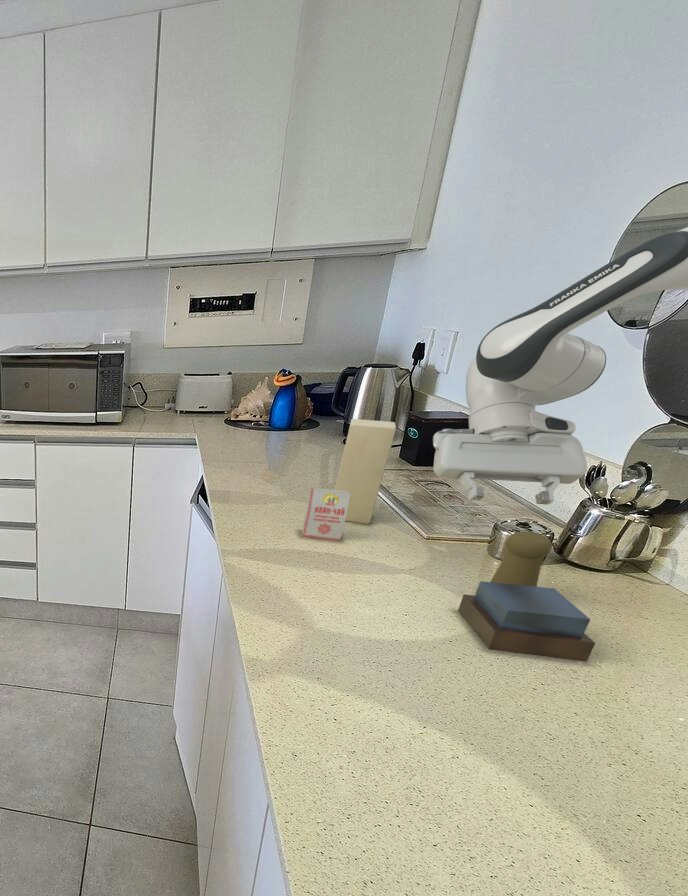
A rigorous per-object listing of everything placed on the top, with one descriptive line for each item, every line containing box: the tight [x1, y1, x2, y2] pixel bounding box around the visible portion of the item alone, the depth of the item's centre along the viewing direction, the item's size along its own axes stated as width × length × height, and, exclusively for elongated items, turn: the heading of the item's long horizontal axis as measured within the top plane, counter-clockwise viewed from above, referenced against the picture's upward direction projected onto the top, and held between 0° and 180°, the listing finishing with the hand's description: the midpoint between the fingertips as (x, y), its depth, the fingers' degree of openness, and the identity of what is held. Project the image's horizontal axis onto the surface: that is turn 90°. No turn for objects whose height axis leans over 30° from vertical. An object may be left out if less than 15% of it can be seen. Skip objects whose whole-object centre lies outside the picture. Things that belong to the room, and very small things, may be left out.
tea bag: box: [301, 487, 350, 542], centre depth 118 cm, size 4×7×10 cm, turn 64°
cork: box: [489, 531, 553, 587], centre depth 93 cm, size 6×6×11 cm
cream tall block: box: [333, 418, 397, 525], centre depth 124 cm, size 8×7×21 cm
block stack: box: [457, 580, 596, 662], centre depth 84 cm, size 11×11×6 cm
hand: (510, 500), depth 98 cm, fingers open, 8 cm apart
